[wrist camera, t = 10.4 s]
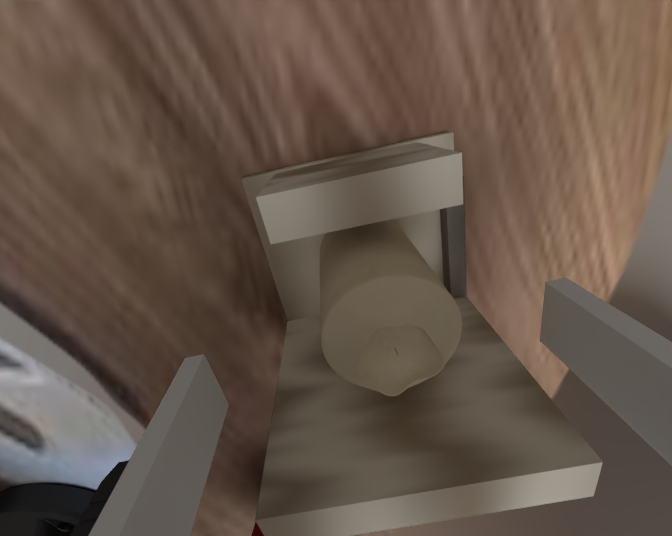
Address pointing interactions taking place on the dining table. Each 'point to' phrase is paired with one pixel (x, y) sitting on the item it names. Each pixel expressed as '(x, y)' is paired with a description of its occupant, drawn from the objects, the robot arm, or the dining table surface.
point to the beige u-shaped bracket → (415, 402)
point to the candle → (383, 309)
